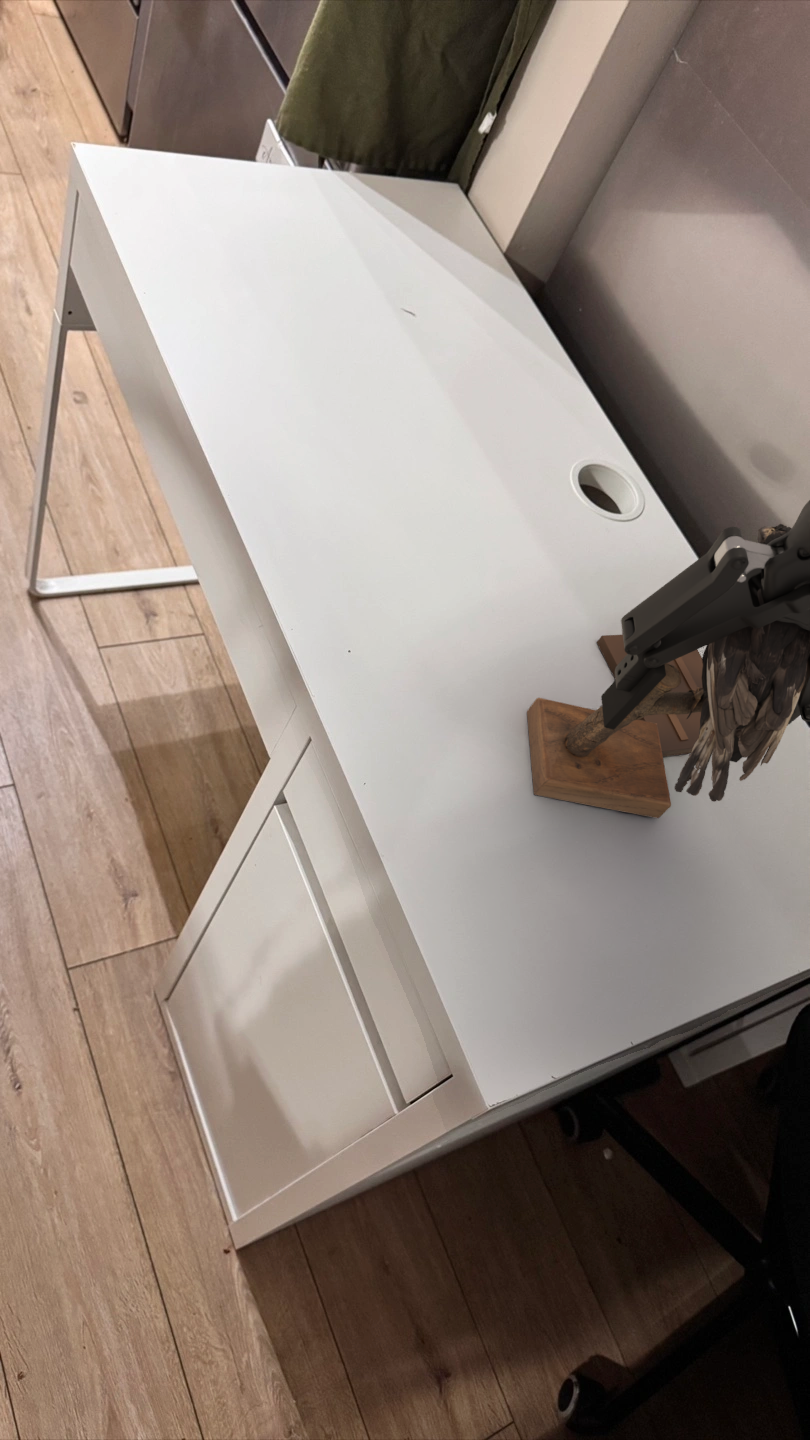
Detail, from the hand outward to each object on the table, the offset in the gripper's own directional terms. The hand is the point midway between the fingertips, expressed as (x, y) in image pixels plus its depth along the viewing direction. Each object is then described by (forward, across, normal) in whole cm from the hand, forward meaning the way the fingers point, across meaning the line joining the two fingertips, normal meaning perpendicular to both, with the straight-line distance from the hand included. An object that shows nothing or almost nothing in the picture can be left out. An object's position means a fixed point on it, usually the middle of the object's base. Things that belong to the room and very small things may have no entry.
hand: (669, 729), depth 71 cm
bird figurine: (+10, 0, 0) cm, 10 cm away
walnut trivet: (+10, -8, -13) cm, 18 cm away
